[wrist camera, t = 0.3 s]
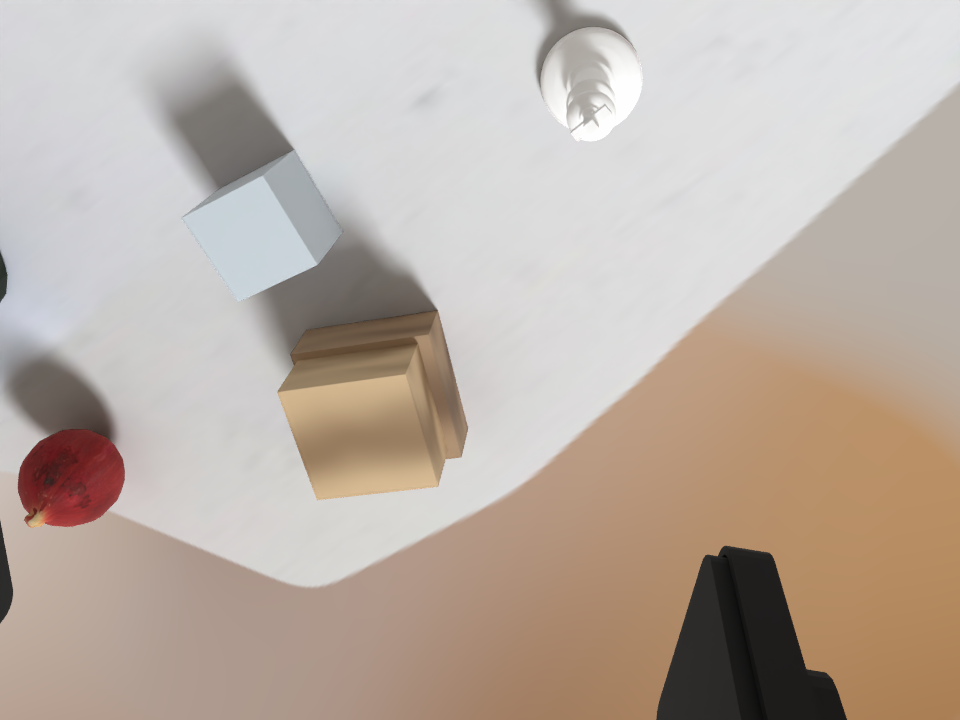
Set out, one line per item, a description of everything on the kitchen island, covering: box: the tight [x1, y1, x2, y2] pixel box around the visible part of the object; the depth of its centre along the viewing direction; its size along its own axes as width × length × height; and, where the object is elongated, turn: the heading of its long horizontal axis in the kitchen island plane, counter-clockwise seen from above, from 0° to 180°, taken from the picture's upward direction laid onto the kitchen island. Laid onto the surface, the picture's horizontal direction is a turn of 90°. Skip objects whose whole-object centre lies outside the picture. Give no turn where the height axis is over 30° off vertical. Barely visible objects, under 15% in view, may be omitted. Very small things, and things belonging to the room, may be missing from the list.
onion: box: [18, 429, 125, 528], centre depth 52 cm, size 6×6×8 cm
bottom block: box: [290, 310, 468, 459], centre depth 50 cm, size 8×8×4 cm
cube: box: [181, 150, 343, 302], centre depth 45 cm, size 5×5×5 cm
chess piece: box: [540, 27, 643, 142], centre depth 37 cm, size 5×5×10 cm
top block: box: [277, 343, 448, 500], centre depth 47 cm, size 7×7×4 cm
